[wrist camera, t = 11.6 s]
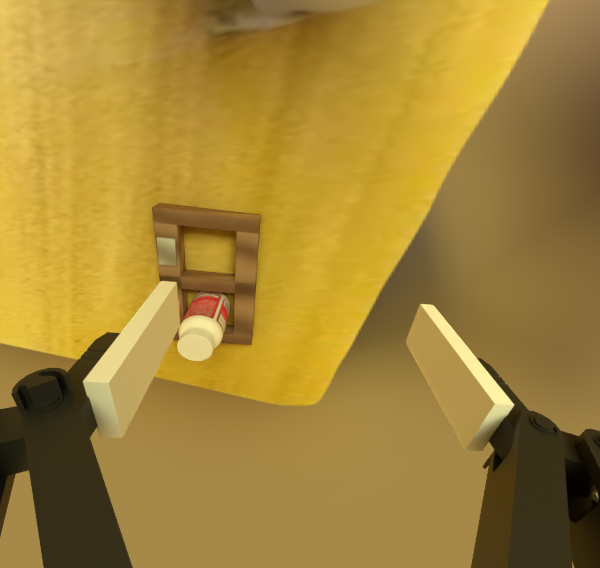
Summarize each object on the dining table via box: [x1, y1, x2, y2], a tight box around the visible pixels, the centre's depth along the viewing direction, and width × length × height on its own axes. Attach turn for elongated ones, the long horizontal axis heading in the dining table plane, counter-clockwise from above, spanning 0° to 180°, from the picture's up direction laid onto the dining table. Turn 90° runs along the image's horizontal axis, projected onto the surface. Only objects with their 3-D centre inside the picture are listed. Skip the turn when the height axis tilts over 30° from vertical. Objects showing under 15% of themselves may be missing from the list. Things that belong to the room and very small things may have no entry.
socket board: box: [152, 203, 261, 345], centre depth 45 cm, size 22×14×3 cm, turn 173°
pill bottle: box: [177, 291, 231, 361], centre depth 44 cm, size 6×6×11 cm
